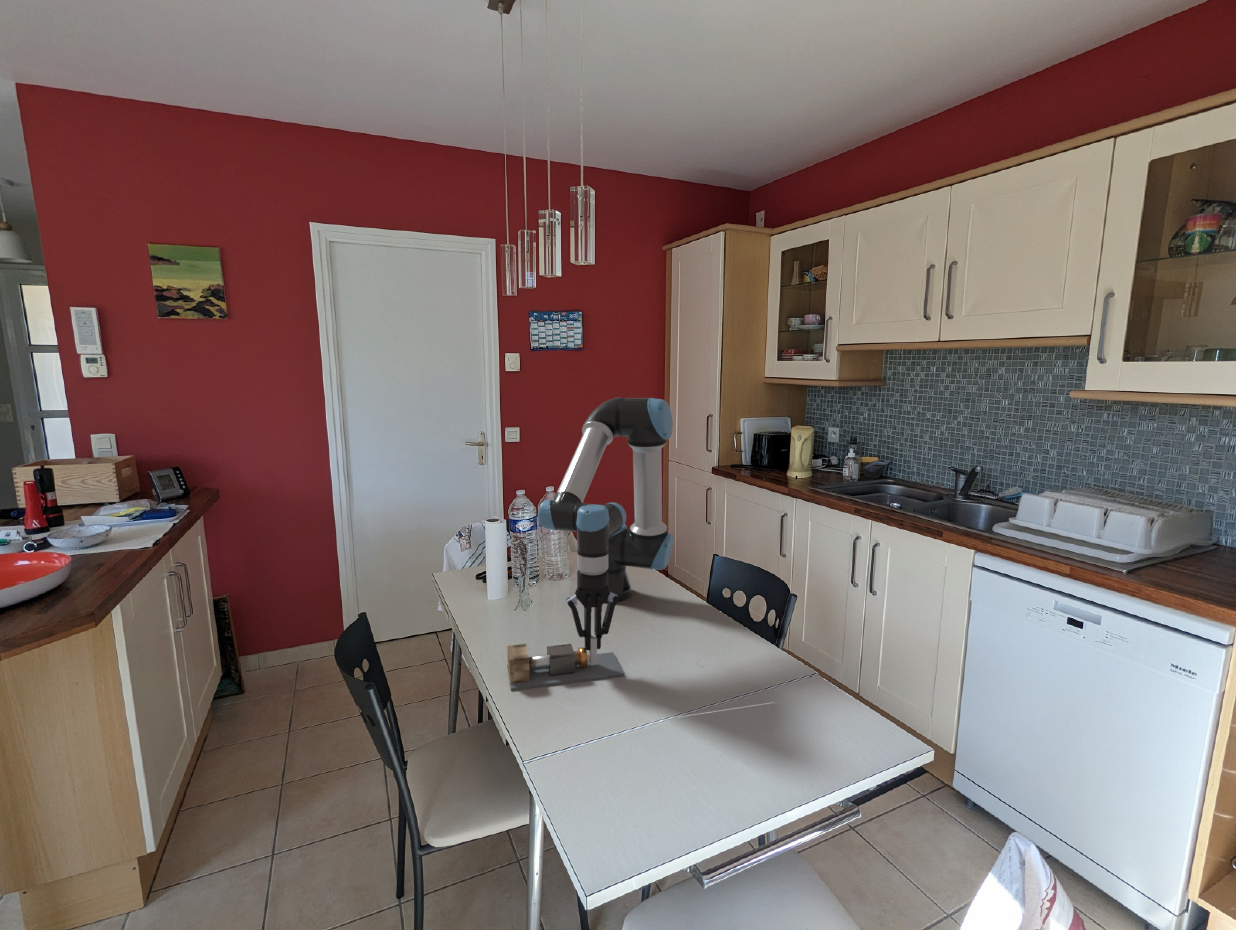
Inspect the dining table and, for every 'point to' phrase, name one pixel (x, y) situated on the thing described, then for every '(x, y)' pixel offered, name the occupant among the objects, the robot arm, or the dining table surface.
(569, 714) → the dining table surface
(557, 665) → the sleeve
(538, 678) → the base mat
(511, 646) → the socket block
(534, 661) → the sliding bolt
